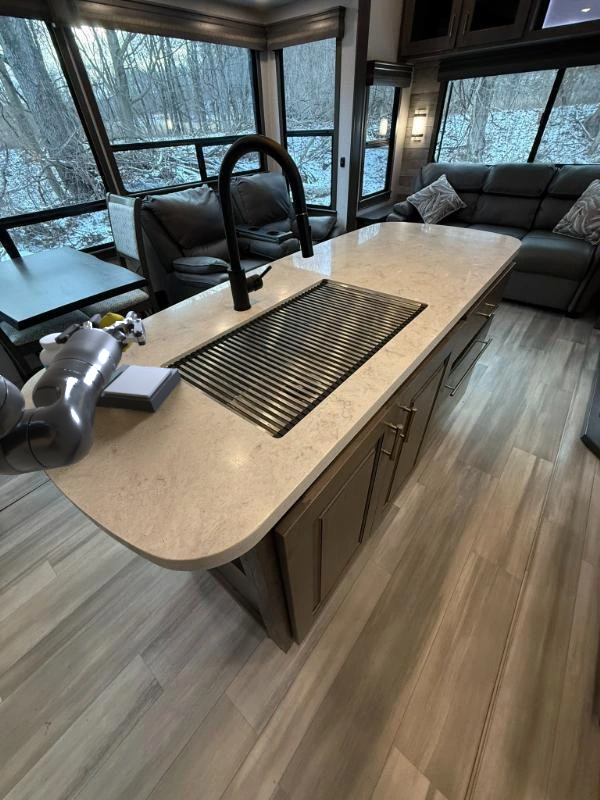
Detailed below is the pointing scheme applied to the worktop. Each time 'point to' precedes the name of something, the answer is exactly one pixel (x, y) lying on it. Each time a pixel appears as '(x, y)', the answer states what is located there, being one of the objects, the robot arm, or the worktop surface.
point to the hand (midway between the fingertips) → (116, 317)
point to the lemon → (110, 320)
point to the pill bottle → (48, 349)
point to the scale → (139, 388)
